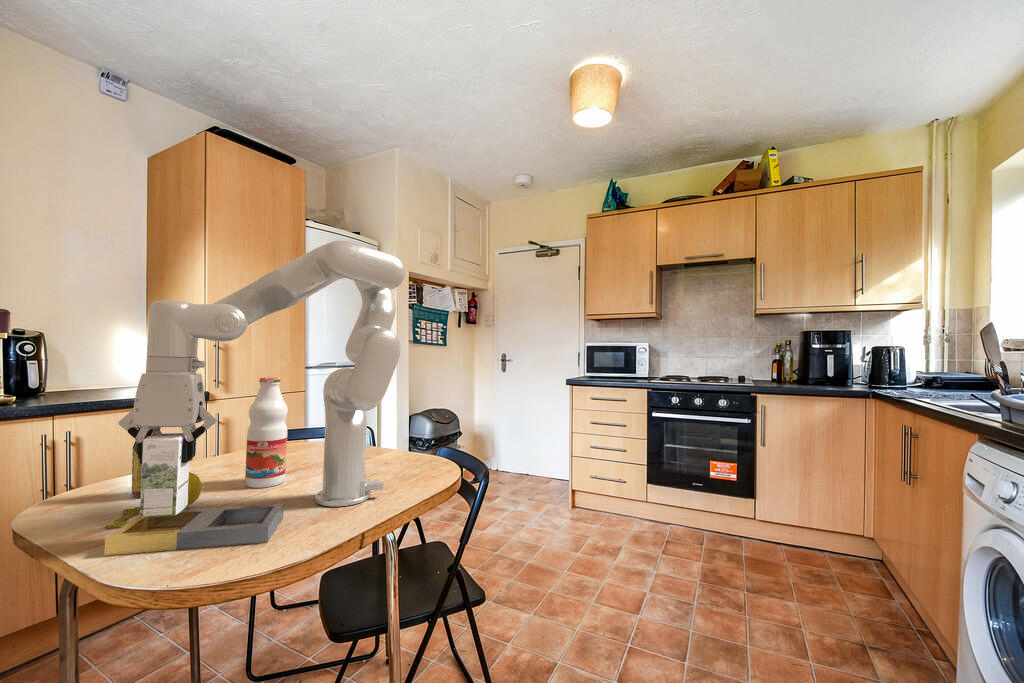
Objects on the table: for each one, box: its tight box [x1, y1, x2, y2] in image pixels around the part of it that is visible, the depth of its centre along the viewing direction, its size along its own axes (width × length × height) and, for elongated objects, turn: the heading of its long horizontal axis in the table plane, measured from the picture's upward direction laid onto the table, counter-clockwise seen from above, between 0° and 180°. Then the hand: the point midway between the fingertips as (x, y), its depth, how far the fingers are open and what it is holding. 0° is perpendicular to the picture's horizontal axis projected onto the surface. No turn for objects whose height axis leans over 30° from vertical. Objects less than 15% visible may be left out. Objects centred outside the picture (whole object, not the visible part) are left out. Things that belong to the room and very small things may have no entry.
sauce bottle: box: [131, 427, 163, 498], centre depth 103 cm, size 6×6×20 cm
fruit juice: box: [244, 377, 289, 489], centre depth 115 cm, size 9×9×28 cm
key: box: [103, 506, 140, 530], centre depth 90 cm, size 12×1×5 cm
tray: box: [103, 503, 284, 557], centre depth 83 cm, size 25×12×3 cm, turn 106°
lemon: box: [184, 471, 202, 509], centre depth 96 cm, size 6×6×8 cm
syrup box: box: [139, 432, 190, 518], centre depth 81 cm, size 6×6×14 cm
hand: (167, 461), depth 81 cm, fingers closed on syrup box, 5 cm apart
